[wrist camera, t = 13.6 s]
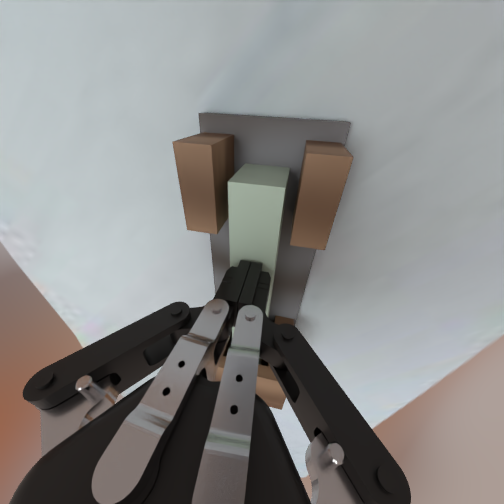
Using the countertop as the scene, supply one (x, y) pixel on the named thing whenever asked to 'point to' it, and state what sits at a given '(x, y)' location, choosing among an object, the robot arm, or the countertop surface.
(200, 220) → the holder
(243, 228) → the slat
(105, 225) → the countertop surface
